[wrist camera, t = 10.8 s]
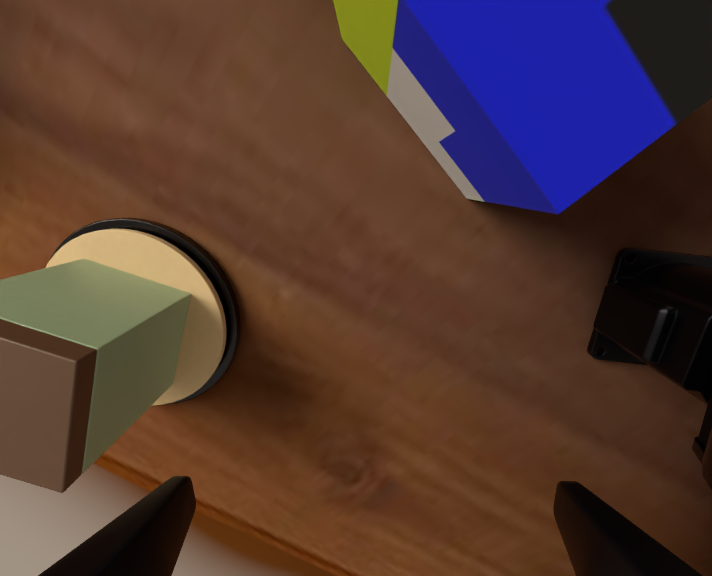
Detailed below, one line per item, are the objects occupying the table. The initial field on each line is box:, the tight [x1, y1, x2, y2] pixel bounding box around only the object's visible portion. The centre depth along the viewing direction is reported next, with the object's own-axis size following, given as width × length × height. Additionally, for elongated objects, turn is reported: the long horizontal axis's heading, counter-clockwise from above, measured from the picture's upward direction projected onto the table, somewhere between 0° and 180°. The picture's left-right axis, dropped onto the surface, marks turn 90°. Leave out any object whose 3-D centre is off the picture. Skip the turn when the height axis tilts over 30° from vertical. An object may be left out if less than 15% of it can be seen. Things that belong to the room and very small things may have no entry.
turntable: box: [50, 218, 240, 404], centre depth 22 cm, size 12×12×1 cm
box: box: [0, 229, 226, 493], centre depth 17 cm, size 11×11×8 cm
